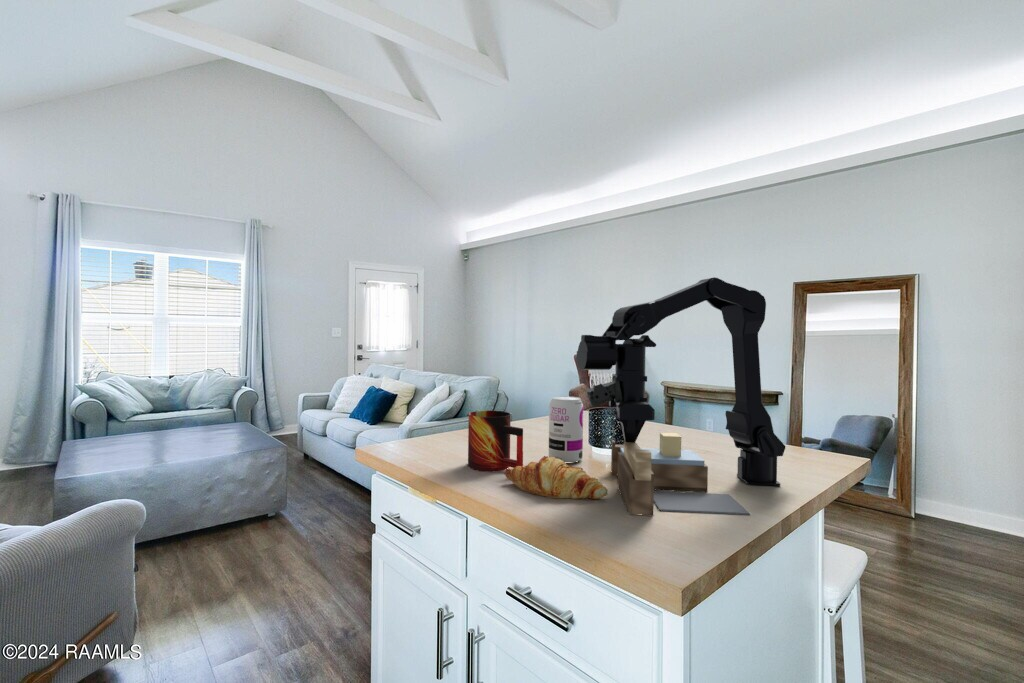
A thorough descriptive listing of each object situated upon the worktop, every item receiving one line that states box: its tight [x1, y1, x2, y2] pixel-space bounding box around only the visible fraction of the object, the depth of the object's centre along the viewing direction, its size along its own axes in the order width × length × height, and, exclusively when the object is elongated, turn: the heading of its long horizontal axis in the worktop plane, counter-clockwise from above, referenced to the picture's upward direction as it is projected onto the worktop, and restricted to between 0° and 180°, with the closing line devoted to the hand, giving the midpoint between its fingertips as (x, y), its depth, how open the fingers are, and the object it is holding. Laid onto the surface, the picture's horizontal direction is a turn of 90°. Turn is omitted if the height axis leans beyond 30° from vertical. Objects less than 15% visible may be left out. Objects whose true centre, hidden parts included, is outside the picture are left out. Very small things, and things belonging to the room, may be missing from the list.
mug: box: [467, 410, 524, 473], centre depth 110 cm, size 10×14×12 cm
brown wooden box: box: [610, 439, 709, 516], centre depth 93 cm, size 17×26×7 cm, turn 175°
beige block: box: [623, 441, 651, 481], centre depth 86 cm, size 2×15×5 cm, turn 175°
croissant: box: [504, 455, 608, 500], centre depth 93 cm, size 21×10×8 cm, turn 64°
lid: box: [620, 432, 705, 466], centre depth 99 cm, size 15×9×5 cm, turn 85°
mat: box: [654, 490, 751, 516], centre depth 87 cm, size 15×10×1 cm, turn 85°
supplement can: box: [548, 395, 584, 462], centre depth 116 cm, size 8×8×15 cm
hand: (628, 448), depth 95 cm, fingers closed
